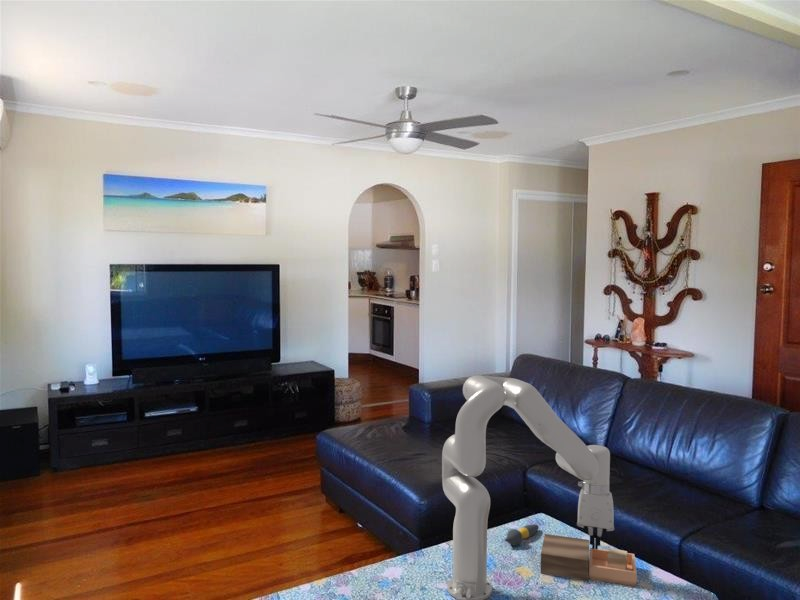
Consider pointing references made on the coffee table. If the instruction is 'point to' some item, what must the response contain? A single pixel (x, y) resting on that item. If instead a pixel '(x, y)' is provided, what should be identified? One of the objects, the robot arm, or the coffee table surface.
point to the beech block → (617, 559)
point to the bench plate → (565, 557)
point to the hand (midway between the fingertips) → (594, 547)
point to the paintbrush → (521, 534)
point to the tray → (611, 569)
